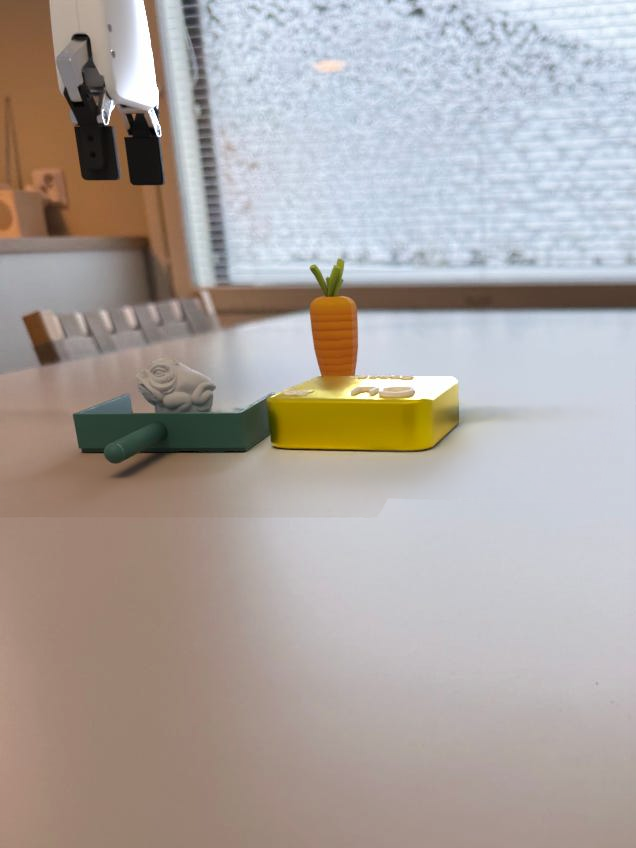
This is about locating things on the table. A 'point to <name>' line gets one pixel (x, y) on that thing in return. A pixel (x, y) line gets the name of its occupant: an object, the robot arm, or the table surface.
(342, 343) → the carrot
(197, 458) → the table surface
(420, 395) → the element tile
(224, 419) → the scoop
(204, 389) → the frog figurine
